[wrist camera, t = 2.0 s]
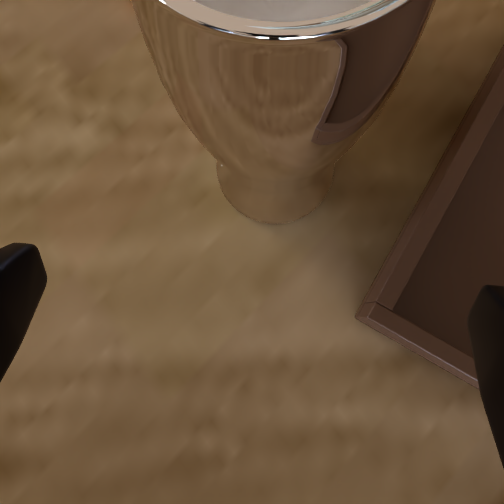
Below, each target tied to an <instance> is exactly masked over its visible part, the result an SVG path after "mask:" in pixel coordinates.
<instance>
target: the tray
mask: <svg viewBox="0 0 504 504" xmlns="http://www.w3.org/2000/svg"><path fill="white" fill-rule="evenodd" d="M485 285H498V286H504V45H503V47H502V49H501V51H500V53H499V54H498V56H497V58H496V60H495V62H494V63H493V65H492V67H491V69H490V71H489V73H488V74H487V76H486V78H485V80H484V82H483V83H482V85H481V87H480V89H479V91H478V93H477V94H476V96H475V98H474V100H473V102H472V104H471V105H470V107H469V109H468V111H467V113H466V114H465V116H464V118H463V120H462V122H461V124H460V125H459V127H458V129H457V131H456V133H455V134H454V136H453V138H452V140H451V142H450V144H449V145H448V147H447V149H446V151H445V153H444V154H443V156H442V158H441V160H440V162H439V164H438V165H437V167H436V169H435V171H434V173H433V174H432V176H431V178H430V180H429V182H428V184H427V185H426V187H425V189H424V191H423V193H422V194H421V196H420V198H419V200H418V202H417V204H416V205H415V207H414V209H413V211H412V213H411V214H410V216H409V218H408V220H407V222H406V224H405V225H404V227H403V229H402V231H401V233H400V234H399V236H398V238H397V240H396V242H395V244H394V245H393V247H392V249H391V251H390V253H389V255H388V256H387V258H386V260H385V262H384V264H383V265H382V267H381V269H380V271H379V273H378V275H377V276H376V278H375V280H374V282H373V284H372V285H371V287H370V289H369V291H368V293H367V295H366V296H365V298H364V300H363V302H362V304H361V305H360V307H359V309H358V311H357V313H356V315H355V318H356V319H358V320H360V321H361V322H363V323H365V324H367V325H368V326H370V327H372V328H374V329H375V330H377V331H379V332H380V333H382V334H384V335H386V336H387V337H389V338H391V339H393V340H394V341H396V342H398V343H400V344H401V345H403V346H405V347H406V348H408V349H410V350H412V351H413V352H415V353H417V354H419V355H420V356H422V357H424V358H426V359H427V360H429V361H431V362H433V363H434V364H436V365H438V366H439V367H441V368H443V369H445V370H446V371H448V372H450V373H452V374H453V375H455V376H457V377H459V378H460V379H462V380H464V381H465V382H467V383H469V384H471V385H472V386H474V387H476V388H478V389H479V385H478V379H477V374H476V369H475V364H474V358H473V353H472V348H471V343H470V337H469V332H468V326H467V319H468V315H469V312H470V310H471V308H472V306H473V304H474V302H475V300H476V298H477V296H478V294H479V292H480V290H481V288H482V287H483V286H485ZM479 390H480V389H479Z"/></svg>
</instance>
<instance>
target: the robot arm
mask: <svg viewBox="0 0 504 504" xmlns="http://www.w3.org/2000/svg"><path fill="white" fill-rule="evenodd" d="M46 283H47V274H46V271H45V268H44V265H43V262H42V259H41V256H40V253H39V250H38V248H37V247H36V246H35V245H33V244H26V243H12V244H10V245H7V246H5V247H3V248H1V249H0V382H1V380H2V378H3V376H4V375H5V373H6V371H7V369H8V368H9V366H10V364H11V362H12V360H13V359H14V357H15V355H16V353H17V351H18V349H19V347H20V345H21V343H22V341H23V339H24V336H25V334H26V332H27V329H28V327H29V325H30V322H31V320H32V318H33V315H34V313H35V311H36V308H37V306H38V303H39V301H40V299H41V296H42V294H43V292H44V289H45V287H46ZM467 326H468V332H469V337H470V343H471V348H472V353H473V358H474V364H475V369H476V374H477V379H478V385H479V389H480V393H481V397H482V401H483V404H484V408H485V411H486V414H487V417H488V421H489V424H490V427H491V430H492V433H493V436H494V440H495V443H496V446H497V449H498V452H499V455H500V459H501V462H502V465H503V468H504V286H498V285H485V286H483V287H482V288H481V290H480V292H479V294H478V296H477V298H476V300H475V302H474V304H473V306H472V308H471V310H470V312H469V315H468V319H467Z"/></svg>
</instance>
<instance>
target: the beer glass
mask: <svg viewBox="0 0 504 504" xmlns="http://www.w3.org/2000/svg"><path fill="white" fill-rule="evenodd" d="M131 2H132V5H133V8H134V11H135V14H136V17H137V20H138V23H139V25H140V28H141V31H142V34H143V37H144V40H145V43H146V46H147V48H148V50H149V53H150V55H151V58H152V60H153V63H154V65H155V68H156V70H157V72H158V75H159V77H160V80H161V82H162V84H163V86H164V88H165V89H166V91H167V93H168V95H169V97H170V99H171V101H172V103H173V105H174V106H175V108H176V110H177V112H178V114H179V115H180V117H181V118H182V120H183V121H184V123H185V124H186V125H187V127H188V128H189V129H190V130H191V132H192V133H193V134H194V136H195V137H196V138H197V140H198V141H199V142H200V143H201V144H202V145H203V147H204V148H205V149H206V150H207V151H208V152H209V153H210V154H211V155H212V156H213V157H214V158H215V159H216V160H217V165H216V166H217V176H218V181H219V185H220V188H221V190H222V192H223V194H224V196H225V197H226V199H227V200H228V202H229V203H230V204H231V205H232V206H233V207H234V208H235V209H236V210H237V211H239V212H240V213H242V214H243V215H245V216H246V217H248V218H250V219H253V220H255V221H258V222H262V223H268V224H282V223H288V222H292V221H295V220H298V219H300V218H302V217H304V216H306V215H308V214H309V213H311V212H312V211H313V210H314V209H316V208H317V207H318V206H319V205H320V203H321V202H322V201H323V200H324V198H325V197H326V195H327V193H328V191H329V189H330V187H331V184H332V181H333V177H334V169H335V164H334V163H335V162H336V161H337V160H338V159H340V158H341V157H342V156H343V155H344V154H345V153H346V152H347V151H348V150H349V149H350V148H352V146H353V145H354V144H355V143H356V142H357V141H358V140H359V139H360V138H361V136H362V135H363V134H364V133H365V132H366V131H367V130H368V129H369V127H370V126H371V125H372V124H373V123H374V121H375V120H376V119H377V117H378V116H379V114H380V113H381V111H382V109H383V108H384V106H385V105H386V103H387V101H388V100H389V98H390V97H391V95H392V93H393V92H394V90H395V89H396V87H397V85H398V83H399V82H400V80H401V78H402V76H403V73H404V71H405V69H406V67H407V65H408V63H409V61H410V59H411V57H412V55H413V53H414V51H415V49H416V47H417V45H418V43H419V40H420V38H421V36H422V33H423V31H424V29H425V26H426V24H427V22H428V19H429V17H430V14H431V12H432V10H433V7H434V5H435V2H436V0H131Z"/></svg>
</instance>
